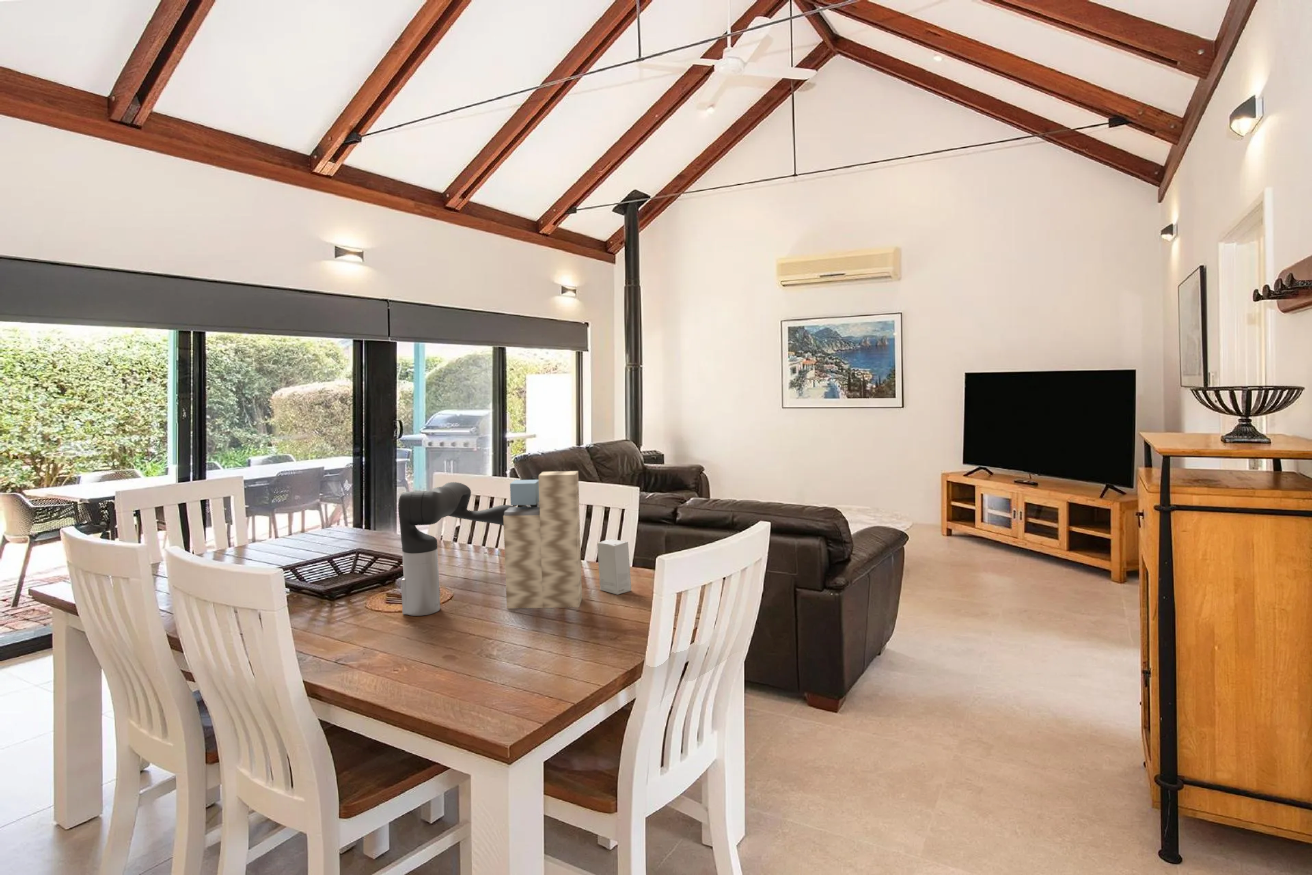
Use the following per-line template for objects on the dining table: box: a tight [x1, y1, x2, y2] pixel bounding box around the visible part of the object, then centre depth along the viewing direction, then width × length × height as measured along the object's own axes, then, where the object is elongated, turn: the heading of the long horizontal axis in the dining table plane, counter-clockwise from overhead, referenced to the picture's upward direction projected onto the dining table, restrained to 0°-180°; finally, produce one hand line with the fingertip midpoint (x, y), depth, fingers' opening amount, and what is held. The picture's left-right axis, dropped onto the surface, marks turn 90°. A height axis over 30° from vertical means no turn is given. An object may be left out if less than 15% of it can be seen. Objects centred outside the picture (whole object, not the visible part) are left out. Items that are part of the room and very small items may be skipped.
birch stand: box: [503, 470, 583, 610], centre depth 203 cm, size 20×8×37 cm, turn 90°
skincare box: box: [596, 538, 632, 595], centre depth 216 cm, size 8×6×15 cm
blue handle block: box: [509, 479, 539, 506], centre depth 210 cm, size 7×16×6 cm, turn 0°
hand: (529, 490), depth 212 cm, fingers closed on blue handle block, 3 cm apart
